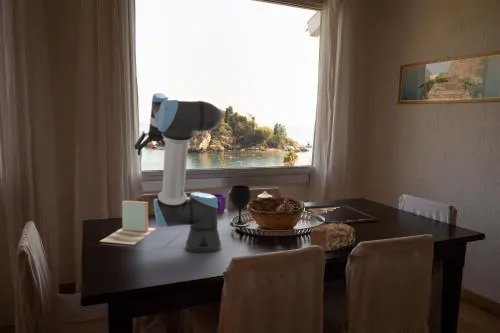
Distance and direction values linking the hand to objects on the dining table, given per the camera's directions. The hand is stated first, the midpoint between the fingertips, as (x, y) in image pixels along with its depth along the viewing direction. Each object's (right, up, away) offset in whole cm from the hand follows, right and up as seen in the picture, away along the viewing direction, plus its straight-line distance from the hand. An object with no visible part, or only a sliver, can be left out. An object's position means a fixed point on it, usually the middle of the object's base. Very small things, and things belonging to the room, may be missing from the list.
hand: (153, 160), depth 199 cm
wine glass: (+45, -34, +2) cm, 56 cm away
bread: (+87, -39, -27) cm, 99 cm away
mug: (+31, -31, +23) cm, 49 cm away
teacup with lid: (+58, -30, +33) cm, 73 cm away
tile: (-4, -34, -17) cm, 38 cm away
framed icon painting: (+102, -33, +27) cm, 110 cm away
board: (-5, -36, -23) cm, 43 cm away
